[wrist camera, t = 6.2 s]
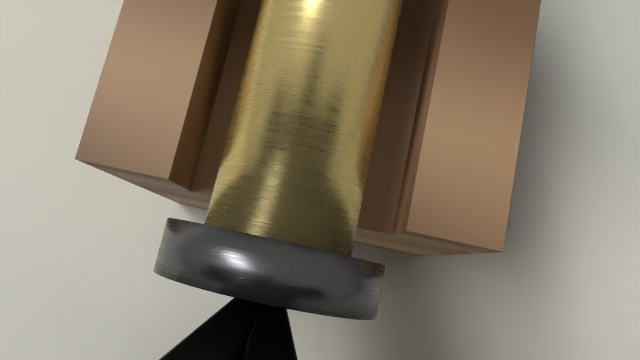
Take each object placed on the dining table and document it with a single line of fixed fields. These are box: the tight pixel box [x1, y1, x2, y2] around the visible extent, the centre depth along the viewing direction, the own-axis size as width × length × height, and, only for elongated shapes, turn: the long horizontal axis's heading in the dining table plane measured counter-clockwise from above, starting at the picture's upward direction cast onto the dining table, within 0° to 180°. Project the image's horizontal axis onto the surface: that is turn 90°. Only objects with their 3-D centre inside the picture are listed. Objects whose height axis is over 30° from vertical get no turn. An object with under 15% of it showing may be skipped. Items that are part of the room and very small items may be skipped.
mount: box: [75, 0, 541, 256], centre depth 13 cm, size 10×9×10 cm
